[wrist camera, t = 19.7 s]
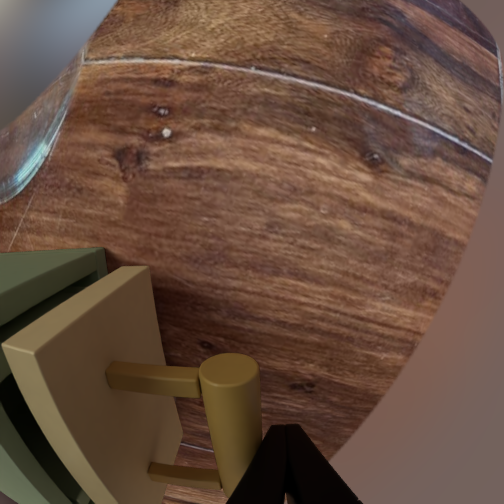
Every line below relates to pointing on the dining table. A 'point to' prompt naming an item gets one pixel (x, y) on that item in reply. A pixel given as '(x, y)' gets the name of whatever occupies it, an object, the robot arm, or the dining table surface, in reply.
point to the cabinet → (7, 308)
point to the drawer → (120, 395)
